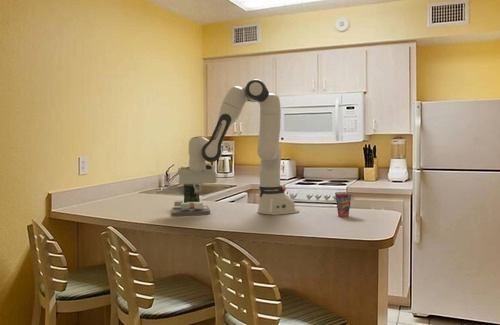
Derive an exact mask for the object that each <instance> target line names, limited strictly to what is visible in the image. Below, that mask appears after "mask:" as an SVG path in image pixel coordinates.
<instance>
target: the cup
mask: <svg viewBox="0 0 500 325" xmlns="http://www.w3.org/2000/svg"><path fill="white" fill-rule="evenodd" d="M334 194H335V201H336V208H337V217H338V218H345V219H346V218H349V216H350V208H351V200H352V195H355V192H350V191H349V192H347V191H339V192H337V191H336V192H334Z"/></svg>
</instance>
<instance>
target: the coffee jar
mask: <svg viewBox="0 0 500 325" xmlns="http://www.w3.org/2000/svg"><path fill="white" fill-rule="evenodd" d="M182 185H183V189H184V190H183V193H184V194H183V203H187V202H201V201H200V192H195V188H194V186H193V184H182ZM195 187H196V189H199V188H200V184H196V186H195Z"/></svg>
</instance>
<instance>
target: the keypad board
mask: <svg viewBox="0 0 500 325" xmlns="http://www.w3.org/2000/svg"><path fill="white" fill-rule="evenodd" d="M171 212H172V213H171V214H172V217H188V216H189V217H190V216H208V215H211V210H210V208H209V206H208V205H203V208H194V207H192V208H188V209H181V206H175V207H173V206H172V209H171Z"/></svg>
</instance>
